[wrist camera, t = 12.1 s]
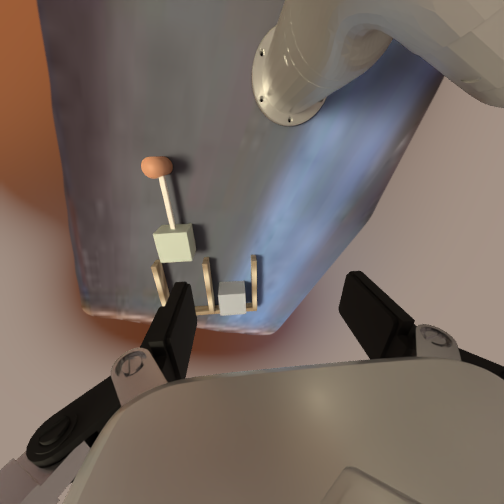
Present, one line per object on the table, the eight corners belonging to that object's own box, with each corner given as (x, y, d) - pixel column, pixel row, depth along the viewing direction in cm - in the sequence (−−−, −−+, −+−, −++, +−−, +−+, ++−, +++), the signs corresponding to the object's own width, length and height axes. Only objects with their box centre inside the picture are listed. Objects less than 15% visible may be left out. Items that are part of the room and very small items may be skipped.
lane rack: (156, 259, 43) (150, 267, 41) (255, 254, 45) (256, 261, 42) (170, 311, 50) (166, 320, 47) (255, 305, 51) (257, 313, 49)
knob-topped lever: (144, 157, 34) (128, 157, 29) (179, 155, 35) (169, 156, 29) (168, 251, 43) (159, 265, 37) (196, 249, 43) (191, 263, 38)
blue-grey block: (219, 281, 47) (218, 295, 43) (244, 280, 48) (245, 293, 43) (221, 301, 50) (220, 315, 46) (245, 299, 51) (246, 313, 46)
